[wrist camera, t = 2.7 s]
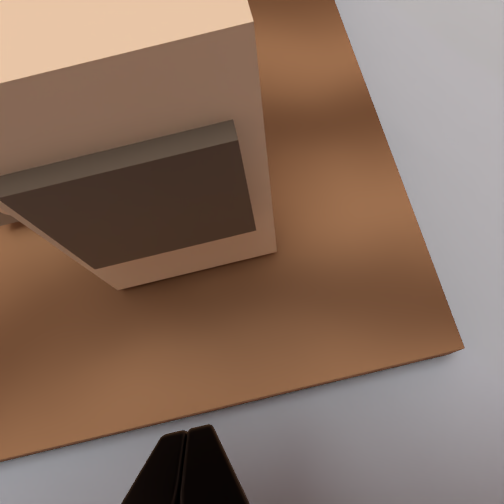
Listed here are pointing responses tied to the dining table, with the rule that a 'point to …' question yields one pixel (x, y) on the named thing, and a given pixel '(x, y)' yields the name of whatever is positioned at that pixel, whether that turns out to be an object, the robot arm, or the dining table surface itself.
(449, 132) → the dining table surface
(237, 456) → the dining table surface
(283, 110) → the gauge base
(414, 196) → the dining table surface
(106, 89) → the block
